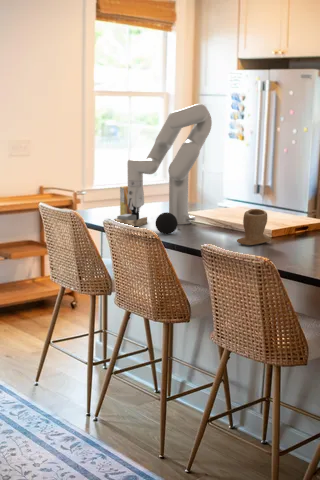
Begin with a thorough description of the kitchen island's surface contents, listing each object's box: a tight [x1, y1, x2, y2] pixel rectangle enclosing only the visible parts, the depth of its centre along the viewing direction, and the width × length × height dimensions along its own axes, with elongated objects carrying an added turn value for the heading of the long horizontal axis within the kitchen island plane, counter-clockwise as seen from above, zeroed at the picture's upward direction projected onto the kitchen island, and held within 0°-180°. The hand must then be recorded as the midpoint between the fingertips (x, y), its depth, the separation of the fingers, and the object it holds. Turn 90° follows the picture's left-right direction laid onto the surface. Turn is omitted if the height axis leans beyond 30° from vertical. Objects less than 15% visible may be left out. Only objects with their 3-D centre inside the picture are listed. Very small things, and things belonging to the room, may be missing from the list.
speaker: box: [155, 212, 178, 235], centre depth 328 cm, size 10×10×10 cm
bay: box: [113, 216, 148, 227], centre depth 355 cm, size 12×12×3 cm
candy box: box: [119, 185, 132, 216], centre depth 382 cm, size 9×4×15 cm, turn 129°
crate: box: [116, 214, 136, 220], centre depth 355 cm, size 6×8×5 cm
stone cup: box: [236, 208, 272, 246], centre depth 305 cm, size 15×12×15 cm
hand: (135, 220), depth 360 cm, fingers closed
